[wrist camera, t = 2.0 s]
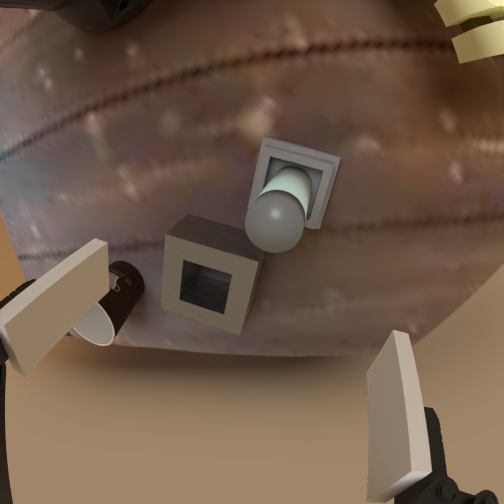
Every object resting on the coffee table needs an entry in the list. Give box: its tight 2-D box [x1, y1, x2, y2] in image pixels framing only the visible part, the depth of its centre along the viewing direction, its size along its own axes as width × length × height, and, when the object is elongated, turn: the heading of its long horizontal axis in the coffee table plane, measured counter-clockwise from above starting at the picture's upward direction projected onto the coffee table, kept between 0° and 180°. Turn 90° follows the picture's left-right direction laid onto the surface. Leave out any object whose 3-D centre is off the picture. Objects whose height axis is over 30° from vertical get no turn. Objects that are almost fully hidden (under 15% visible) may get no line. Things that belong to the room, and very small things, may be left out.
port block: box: [161, 215, 266, 335], centre depth 36 cm, size 10×10×6 cm
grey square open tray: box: [247, 136, 341, 230], centre depth 31 cm, size 8×8×3 cm
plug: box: [245, 165, 312, 253], centre depth 27 cm, size 4×4×12 cm
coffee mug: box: [73, 261, 144, 346], centre depth 40 cm, size 12×9×10 cm
